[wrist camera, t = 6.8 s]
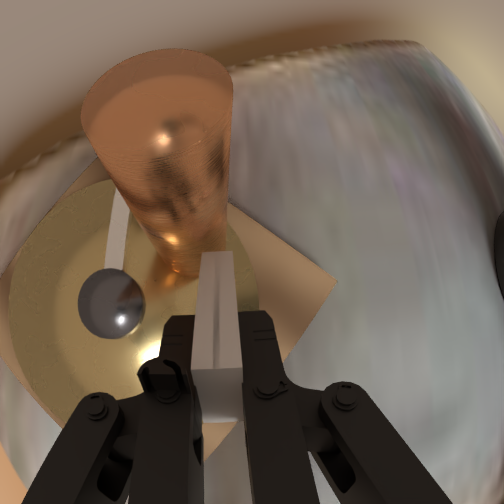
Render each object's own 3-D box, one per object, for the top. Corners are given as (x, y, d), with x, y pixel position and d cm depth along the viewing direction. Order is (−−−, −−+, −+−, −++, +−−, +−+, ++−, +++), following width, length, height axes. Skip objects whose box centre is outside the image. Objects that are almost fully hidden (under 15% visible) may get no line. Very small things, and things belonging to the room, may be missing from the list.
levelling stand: (129, 145, 24) (114, 107, 19) (328, 286, 22) (355, 269, 17) (-10, 321, 18) (-47, 313, 14) (166, 495, 16) (153, 528, 12)
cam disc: (-1, 257, 18) (-122, 180, 5) (181, 150, 22) (158, -15, 9) (86, 469, 14) (-34, 557, 2) (307, 360, 18) (458, 375, 5)
